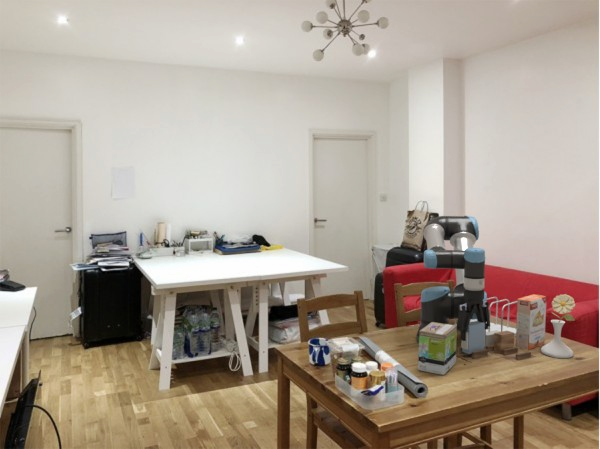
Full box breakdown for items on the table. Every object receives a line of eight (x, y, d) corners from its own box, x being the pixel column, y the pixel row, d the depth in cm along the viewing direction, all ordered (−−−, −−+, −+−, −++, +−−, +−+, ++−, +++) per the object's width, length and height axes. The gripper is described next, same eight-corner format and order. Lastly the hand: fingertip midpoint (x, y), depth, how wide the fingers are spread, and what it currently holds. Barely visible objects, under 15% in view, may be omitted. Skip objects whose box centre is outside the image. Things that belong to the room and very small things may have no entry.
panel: (462, 351, 193) (462, 323, 193) (477, 348, 197) (477, 320, 196) (469, 354, 190) (469, 325, 190) (484, 350, 194) (484, 322, 193)
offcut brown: (493, 351, 198) (494, 332, 197) (506, 348, 201) (506, 330, 200) (501, 354, 194) (501, 335, 194) (513, 351, 198) (514, 332, 197)
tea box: (445, 376, 175) (445, 334, 174) (417, 370, 181) (417, 330, 180) (456, 363, 188) (457, 324, 187) (430, 358, 194) (430, 320, 192)
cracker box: (529, 352, 199) (531, 300, 197) (515, 349, 203) (516, 298, 202) (545, 345, 208) (547, 295, 206) (531, 342, 212) (532, 293, 211)
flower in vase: (533, 353, 198) (535, 291, 196) (555, 350, 202) (557, 288, 200) (561, 364, 186) (563, 297, 184) (584, 360, 190) (586, 295, 188)
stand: (455, 356, 195) (455, 347, 195) (474, 352, 200) (474, 343, 200) (471, 362, 188) (471, 353, 188) (490, 358, 193) (490, 349, 193)
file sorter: (452, 329, 233) (452, 296, 232) (473, 322, 244) (473, 291, 243) (502, 342, 214) (503, 305, 212) (523, 334, 224) (524, 299, 223)
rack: (473, 349, 204) (473, 342, 204) (494, 344, 209) (494, 337, 209) (514, 364, 186) (514, 356, 186) (536, 359, 191) (536, 351, 191)
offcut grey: (480, 347, 202) (480, 333, 202) (496, 344, 206) (496, 330, 206) (487, 350, 199) (487, 335, 199) (503, 346, 203) (503, 332, 203)
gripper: (461, 293, 184) (460, 353, 186) (501, 287, 194) (500, 345, 195) (446, 289, 191) (445, 348, 192) (486, 284, 200) (485, 340, 202)
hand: (473, 346), depth 194 cm, fingers closed on panel, 8 cm apart
